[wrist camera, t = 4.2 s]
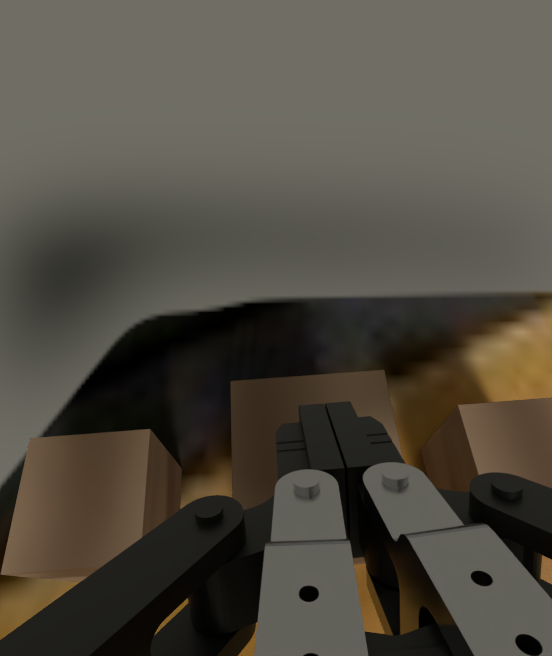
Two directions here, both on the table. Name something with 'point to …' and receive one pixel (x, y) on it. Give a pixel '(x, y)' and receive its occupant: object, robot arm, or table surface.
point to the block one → (491, 443)
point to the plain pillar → (292, 421)
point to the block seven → (88, 501)
